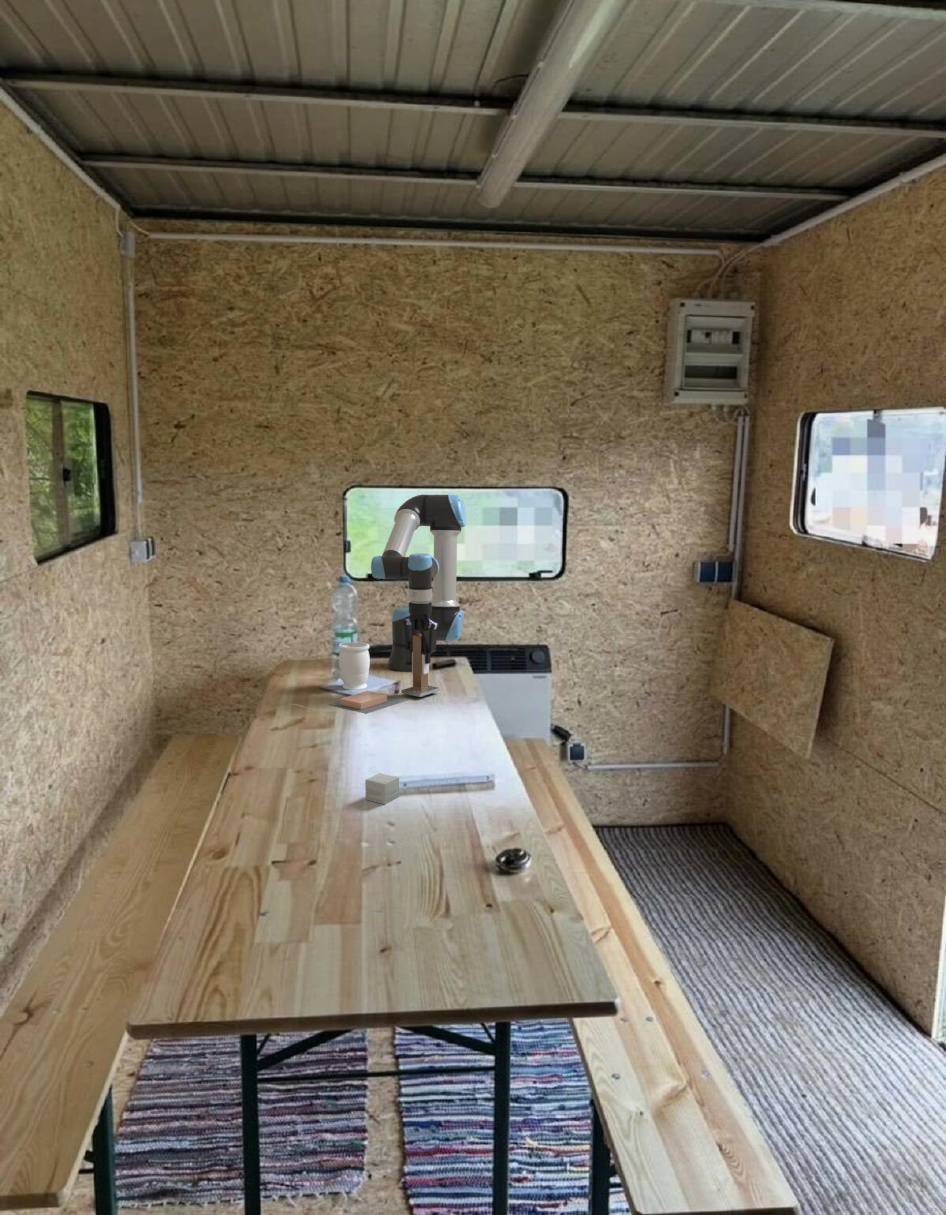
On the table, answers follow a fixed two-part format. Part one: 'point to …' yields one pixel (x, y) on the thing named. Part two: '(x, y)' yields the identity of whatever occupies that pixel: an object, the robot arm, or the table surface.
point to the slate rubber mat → (390, 702)
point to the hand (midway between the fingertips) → (420, 672)
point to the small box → (382, 788)
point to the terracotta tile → (363, 700)
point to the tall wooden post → (419, 672)
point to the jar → (354, 664)
